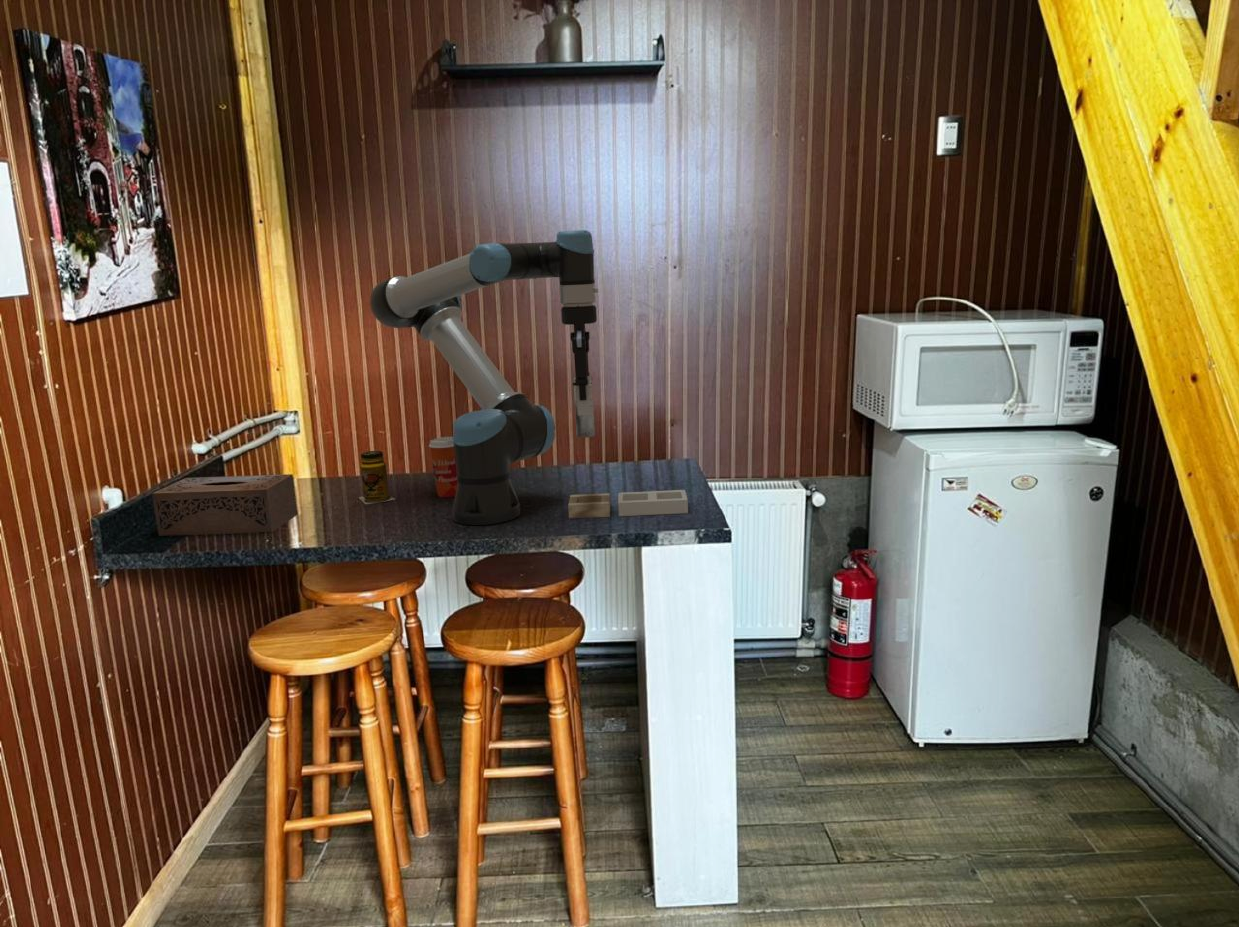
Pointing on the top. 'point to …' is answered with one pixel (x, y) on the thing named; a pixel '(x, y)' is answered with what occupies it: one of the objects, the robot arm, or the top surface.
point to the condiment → (374, 478)
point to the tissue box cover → (225, 505)
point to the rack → (652, 503)
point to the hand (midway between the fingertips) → (584, 412)
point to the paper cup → (444, 466)
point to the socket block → (589, 505)
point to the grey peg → (585, 421)
